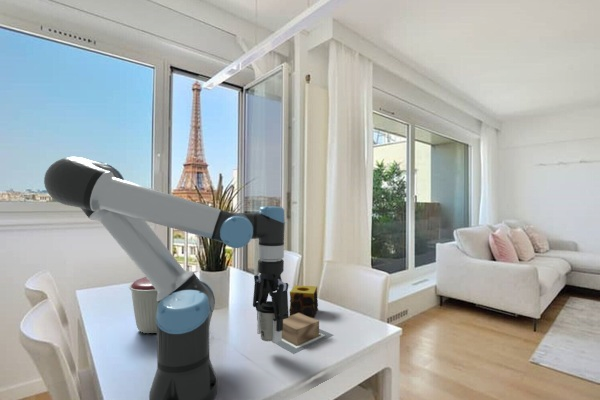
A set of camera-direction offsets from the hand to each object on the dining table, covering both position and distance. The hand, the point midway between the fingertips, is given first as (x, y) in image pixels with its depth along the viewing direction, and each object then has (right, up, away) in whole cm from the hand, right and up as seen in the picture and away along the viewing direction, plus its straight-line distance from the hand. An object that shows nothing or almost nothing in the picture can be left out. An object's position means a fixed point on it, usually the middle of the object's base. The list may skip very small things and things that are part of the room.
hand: (269, 336), depth 91 cm
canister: (-42, -6, +21) cm, 47 cm away
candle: (+11, -6, +34) cm, 36 cm away
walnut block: (+8, -5, +13) cm, 16 cm away
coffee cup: (0, -1, 0) cm, 1 cm away
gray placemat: (+8, -6, +13) cm, 16 cm away
